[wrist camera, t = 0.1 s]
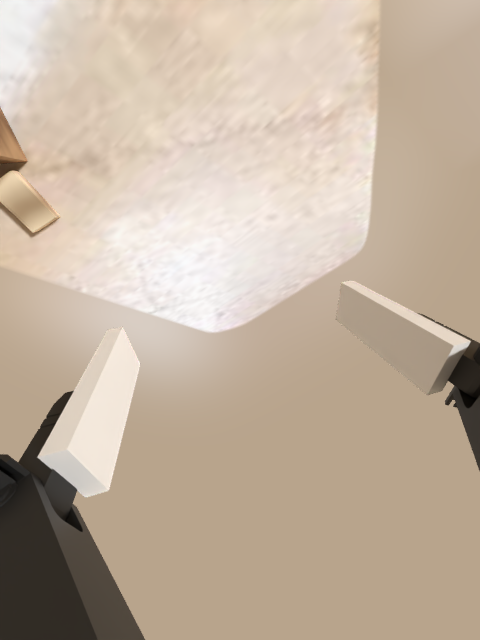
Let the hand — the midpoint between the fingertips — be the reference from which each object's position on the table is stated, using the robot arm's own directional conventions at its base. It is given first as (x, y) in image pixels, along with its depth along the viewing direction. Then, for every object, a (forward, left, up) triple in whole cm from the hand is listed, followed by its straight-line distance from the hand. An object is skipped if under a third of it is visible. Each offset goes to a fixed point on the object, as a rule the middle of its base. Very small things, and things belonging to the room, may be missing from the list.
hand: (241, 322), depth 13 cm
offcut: (-8, -23, -29) cm, 37 cm away
